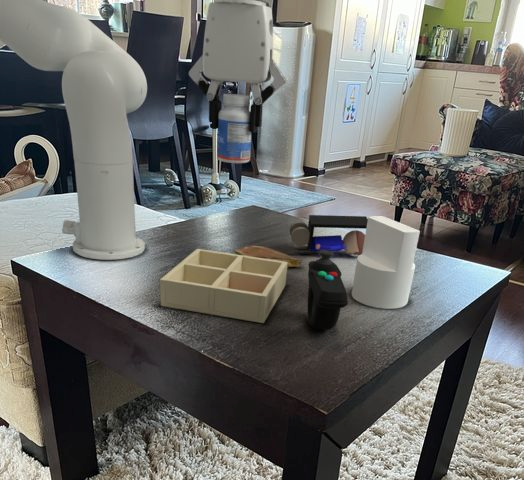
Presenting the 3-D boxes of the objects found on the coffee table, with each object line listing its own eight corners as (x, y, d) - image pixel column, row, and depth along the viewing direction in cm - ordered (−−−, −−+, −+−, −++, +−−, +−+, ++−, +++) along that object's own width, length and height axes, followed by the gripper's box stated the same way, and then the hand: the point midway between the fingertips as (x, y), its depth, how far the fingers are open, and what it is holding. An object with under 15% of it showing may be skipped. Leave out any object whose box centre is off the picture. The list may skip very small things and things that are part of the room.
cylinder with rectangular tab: (419, 304, 85) (436, 230, 79) (375, 312, 81) (389, 234, 75) (383, 284, 92) (396, 214, 86) (340, 290, 88) (351, 217, 82)
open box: (160, 305, 77) (160, 279, 75) (196, 271, 90) (197, 248, 88) (263, 323, 74) (266, 296, 73) (285, 285, 88) (287, 261, 86)
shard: (302, 268, 96) (303, 259, 95) (273, 277, 91) (273, 267, 90) (259, 252, 102) (260, 243, 101) (230, 259, 97) (230, 250, 96)
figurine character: (291, 263, 102) (370, 260, 102) (290, 224, 98) (372, 221, 98) (289, 252, 108) (364, 249, 108) (289, 215, 104) (365, 212, 104)
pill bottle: (215, 157, 89) (217, 92, 84) (247, 158, 90) (251, 94, 85) (218, 163, 84) (220, 94, 80) (252, 164, 85) (255, 97, 81)
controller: (329, 311, 80) (338, 246, 75) (343, 350, 69) (355, 277, 64) (300, 309, 80) (308, 244, 75) (310, 348, 69) (320, 275, 64)
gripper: (303, 0, 78) (291, 132, 87) (191, -7, 81) (190, 123, 89) (295, -6, 72) (284, 137, 80) (174, -14, 74) (175, 127, 83)
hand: (234, 128), depth 85 cm, fingers closed on pill bottle, 5 cm apart
